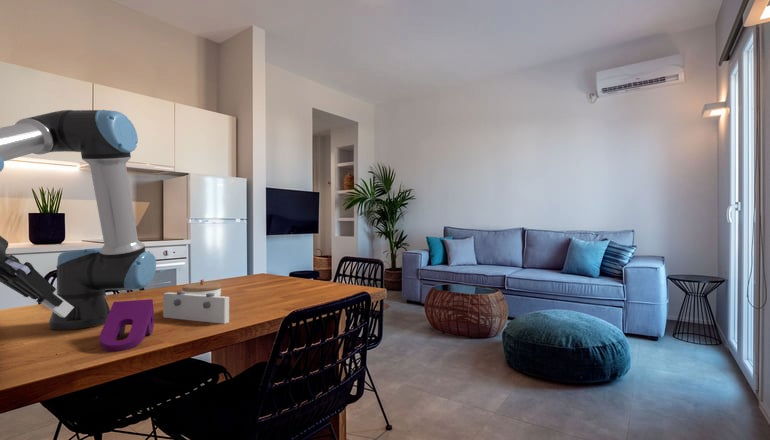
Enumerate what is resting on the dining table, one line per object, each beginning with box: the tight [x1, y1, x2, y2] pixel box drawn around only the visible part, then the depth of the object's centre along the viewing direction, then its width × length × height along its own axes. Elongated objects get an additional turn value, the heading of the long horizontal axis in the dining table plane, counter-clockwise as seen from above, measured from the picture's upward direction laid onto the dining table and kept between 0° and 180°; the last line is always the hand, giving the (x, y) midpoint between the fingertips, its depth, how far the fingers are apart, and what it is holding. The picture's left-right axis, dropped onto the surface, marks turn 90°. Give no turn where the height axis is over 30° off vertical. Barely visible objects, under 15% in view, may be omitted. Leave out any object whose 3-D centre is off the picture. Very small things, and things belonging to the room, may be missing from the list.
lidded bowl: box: [181, 279, 222, 296], centre depth 136 cm, size 13×13×11 cm
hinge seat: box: [162, 290, 230, 325], centre depth 123 cm, size 25×3×9 cm, turn 71°
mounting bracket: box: [99, 298, 155, 352], centre depth 102 cm, size 9×8×18 cm
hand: (67, 312), depth 87 cm, fingers closed
